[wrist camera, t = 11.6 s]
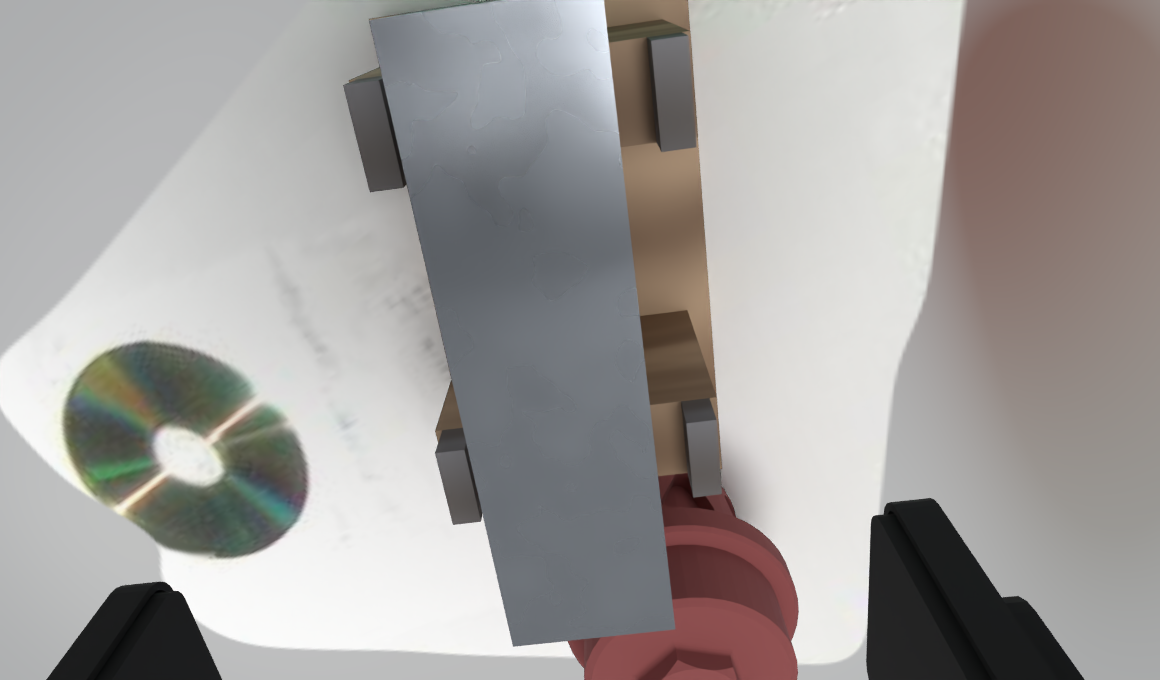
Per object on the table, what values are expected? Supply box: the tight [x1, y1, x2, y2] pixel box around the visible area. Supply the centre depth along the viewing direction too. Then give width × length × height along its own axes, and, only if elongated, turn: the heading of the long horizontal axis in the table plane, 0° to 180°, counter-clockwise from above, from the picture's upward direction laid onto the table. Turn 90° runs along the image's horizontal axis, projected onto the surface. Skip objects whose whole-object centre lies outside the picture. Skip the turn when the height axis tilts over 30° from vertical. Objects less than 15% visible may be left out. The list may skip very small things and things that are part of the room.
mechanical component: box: [568, 473, 799, 680], centre depth 35 cm, size 12×10×10 cm
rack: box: [343, 0, 722, 525], centre depth 29 cm, size 18×12×11 cm, turn 8°
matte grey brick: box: [369, 0, 675, 647], centre depth 23 cm, size 18×5×6 cm, turn 8°
